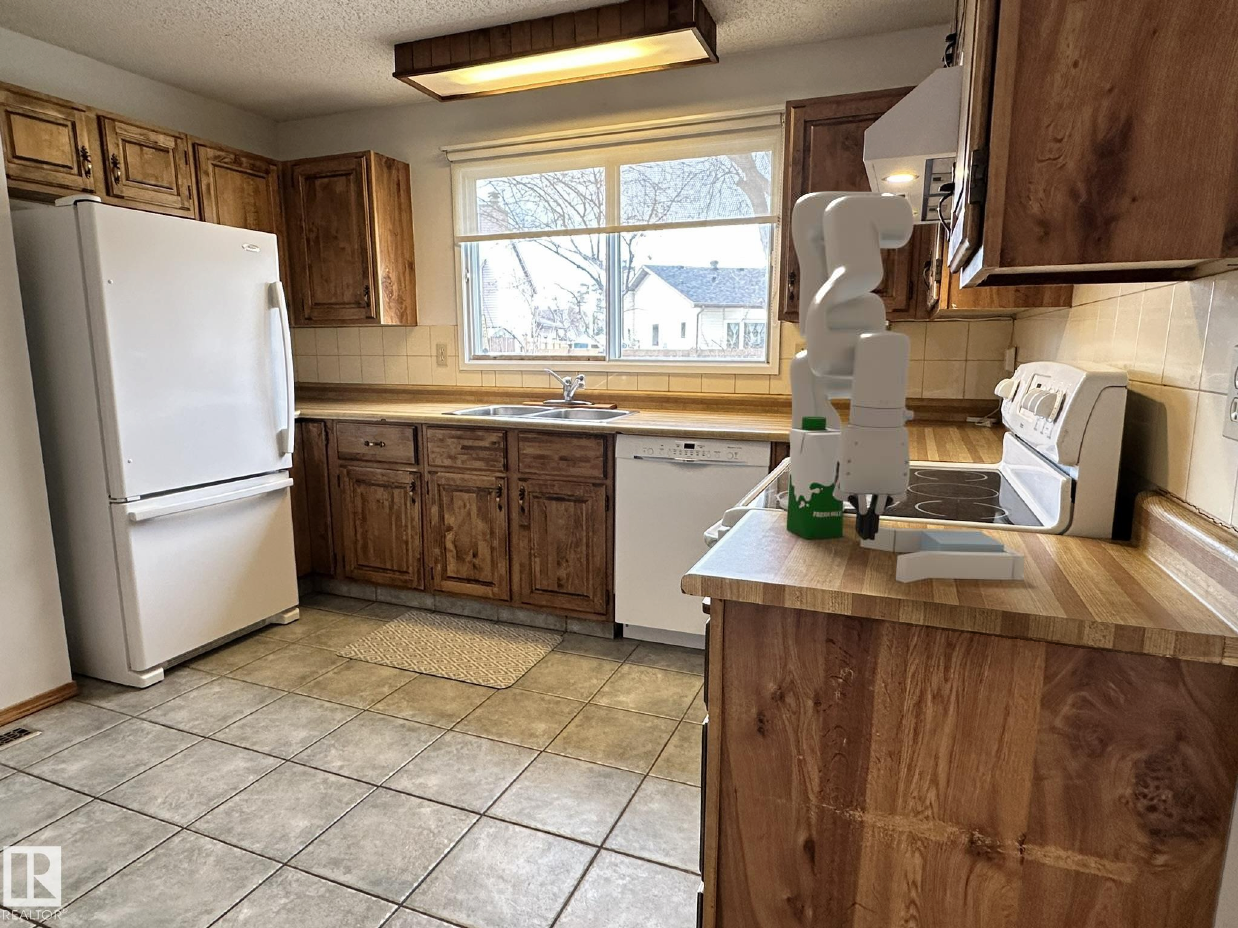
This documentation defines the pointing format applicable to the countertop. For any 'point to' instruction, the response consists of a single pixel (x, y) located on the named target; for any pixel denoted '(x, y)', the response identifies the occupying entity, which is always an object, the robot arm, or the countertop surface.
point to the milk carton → (813, 481)
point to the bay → (944, 558)
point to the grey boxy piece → (959, 542)
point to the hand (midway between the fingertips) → (865, 537)
